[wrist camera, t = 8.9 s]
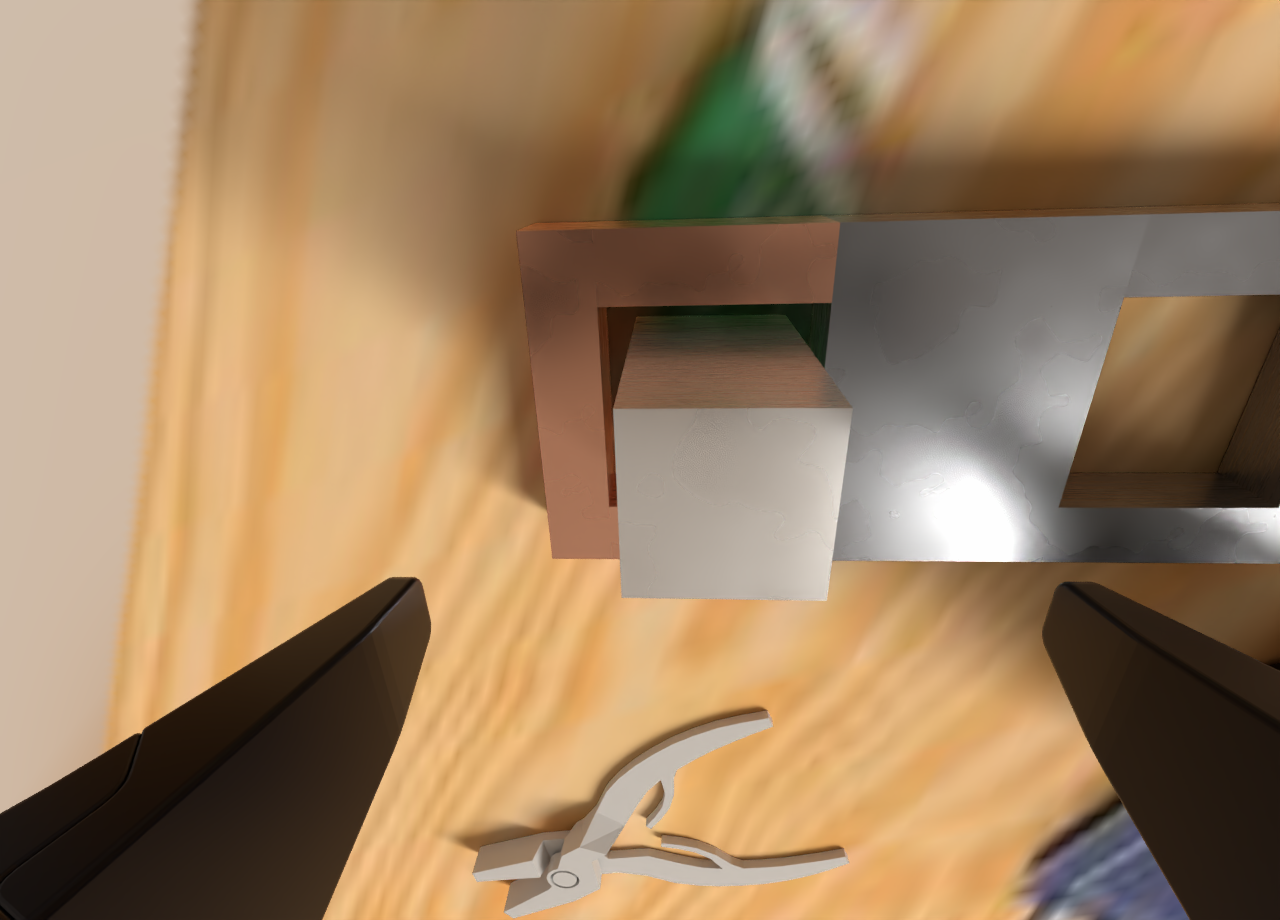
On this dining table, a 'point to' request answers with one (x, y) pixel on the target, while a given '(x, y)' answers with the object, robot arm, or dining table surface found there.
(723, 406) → the grey metal block
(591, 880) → the pliers
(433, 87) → the dining table surface
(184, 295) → the dining table surface
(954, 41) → the dining table surface
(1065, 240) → the grey copper slotted plate
